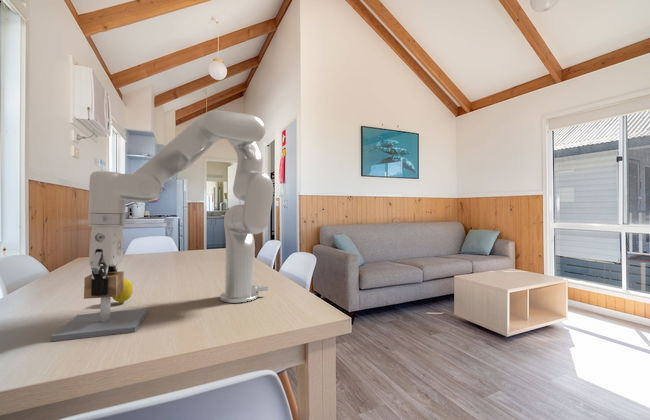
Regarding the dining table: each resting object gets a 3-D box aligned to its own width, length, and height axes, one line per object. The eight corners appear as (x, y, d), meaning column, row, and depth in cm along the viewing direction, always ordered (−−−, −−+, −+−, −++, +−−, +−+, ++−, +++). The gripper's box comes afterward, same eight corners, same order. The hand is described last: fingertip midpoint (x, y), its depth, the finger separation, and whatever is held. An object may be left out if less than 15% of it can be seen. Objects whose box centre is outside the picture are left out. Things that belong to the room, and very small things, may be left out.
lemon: (121, 306, 88) (122, 280, 88) (106, 305, 89) (106, 279, 89) (136, 301, 93) (137, 276, 93) (122, 300, 94) (122, 275, 95)
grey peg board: (147, 312, 83) (147, 280, 83) (135, 331, 70) (135, 293, 70) (77, 319, 78) (78, 284, 78) (50, 341, 64) (51, 299, 65)
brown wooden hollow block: (123, 290, 78) (123, 271, 78) (115, 296, 72) (116, 276, 72) (94, 291, 76) (94, 272, 76) (83, 298, 70) (84, 277, 70)
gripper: (114, 222, 67) (111, 300, 67) (133, 219, 83) (130, 282, 83) (73, 221, 65) (70, 302, 64) (101, 219, 81) (99, 284, 80)
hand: (104, 290), depth 74 cm, fingers closed on brown wooden hollow block, 6 cm apart
